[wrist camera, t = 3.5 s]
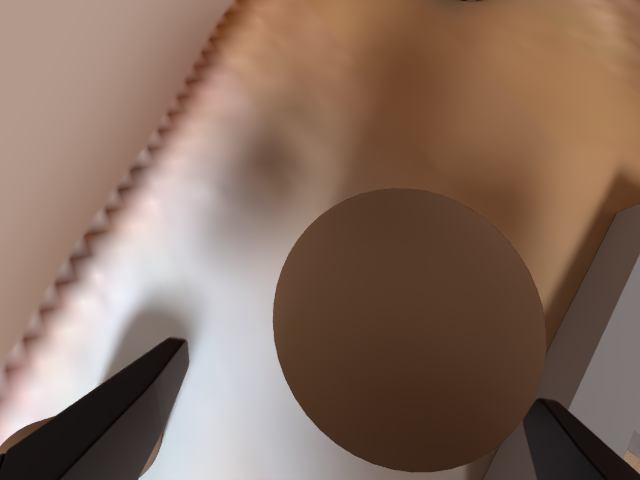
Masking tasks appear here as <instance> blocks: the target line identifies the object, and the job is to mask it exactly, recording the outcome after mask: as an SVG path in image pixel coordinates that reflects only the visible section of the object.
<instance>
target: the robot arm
mask: <svg viewBox="0 0 640 480" xmlns="http://www.w3.org/2000/svg"><path fill="white" fill-rule="evenodd" d="M188 366H189V354H188V343H187V340H186V339H183V338H177V337H169V338H167V339H166V340H164V341H163V342H161V343H160V344H159V345H157V346H156V347H154V348H153V349H151V350H150V351H148V352H147V353H146V354H144V355H143V356H141V357H140V358H138V359H137V360H136V361H134V362H133V363H131V364H130V365H128V366H127V367H125V368H124V369H123V370H121V371H120V372H118V373H117V374H115V375H114V376H112V377H111V378H110V379H108V380H107V381H105V382H104V383H102V384H101V385H99V386H98V387H97V388H95V389H94V390H92V391H91V392H89V393H88V394H87V395H85V396H84V397H82V398H81V399H79V400H78V401H76V402H75V403H74V404H72V405H71V406H69V407H68V408H66V409H65V410H63V411H62V412H61V413H59V414H58V415H56V416H55V417H53V418H52V419H51V420H49V421H48V422H46V423H45V424H43V425H42V426H40V427H39V428H38V429H36V430H35V431H33V432H32V433H30V434H29V435H27V436H26V437H25V438H23V439H22V440H20V441H19V442H17V443H16V444H14V445H13V446H12V447H10V448H9V449H8V450H7V451H6V453H1V454H0V480H138V479H139V477H140V475H141V473H142V471H143V469H144V467H145V465H146V463H147V461H148V459H149V457H150V455H151V453H152V451H153V450H154V448H155V446H156V444H157V442H158V440H159V438H160V436H161V434H162V432H163V429H164V427H165V425H166V422H167V420H168V417H169V415H170V412H171V410H172V407H173V405H174V402H175V400H176V397H177V395H178V392H179V390H180V387H181V385H182V382H183V380H184V377H185V375H186V372H187V369H188ZM523 428H524V432H525V436H526V440H527V443H528V447H529V451H530V455H531V459H532V463H533V467H534V471H535V474H536V478H537V480H640V474H639V473H638V472H637V471H636V470H634V469H633V468H632V467H631V466H630V465H629V464H628V463H627V462H625V461H624V460H623V459H622V458H621V457H620V456H619V455H618V454H617V453H615V452H614V451H613V450H612V449H611V448H610V447H609V446H608V445H606V444H605V443H604V442H603V441H602V440H601V439H600V438H599V437H598V436H596V435H595V434H594V433H593V432H592V431H591V430H590V429H589V428H587V427H586V426H585V425H584V424H583V423H582V422H581V421H580V420H578V419H577V418H576V417H575V416H574V415H573V414H572V413H571V412H570V411H568V410H567V409H566V408H565V407H564V406H563V405H562V404H561V403H559V402H558V401H556V400H553V399H548V398H541V397H540V398H537V399H536V400H535V401H534V402H533V404H532V405H531V407H530V409H529V411H528V413H527V414H526V416H525V417H524V418H523Z"/></svg>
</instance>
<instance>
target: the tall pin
mask: <svg viewBox="0 0 640 480" xmlns="http://www.w3.org/2000/svg"><path fill="white" fill-rule="evenodd" d="M273 329H274V341H275V346H276V350H277V355H278V359H279V363H280V365H281V368H282V371H283V374H284V377H285V379H286V381H287V383H288V385H289V387H290V389H291V391H292V393H293V395H294V397H295V399H296V400H297V402H298V403H299V405H300V406H301V407H302V409H303V410H304V412H305V413H306V415H307V416H308V417H309V418H310V419H311V420H312V421H313V423H314V424H315V425H316V426H317V427H318V428H319V429H320V430H321V431H322V432H323V433H324V434H325V435H327V436H328V437H329V438H330V439H331V440H332V441H334V442H335V443H336V444H337V445H339V446H341V447H342V448H344V449H345V450H347V451H348V452H350V453H351V454H353V455H355V456H357V457H359V458H361V459H364V460H366V461H368V462H370V463H372V464H376V465H379V466H382V467H386V468H389V469H393V470H400V471H407V472H436V471H442V470H448V469H453V468H456V467H459V466H462V465H465V464H468V463H471V462H472V461H474V460H476V459H478V458H480V457H482V456H484V455H486V454H488V453H489V452H490V451H492V450H493V449H494V448H496V447H497V446H498V445H500V444H501V443H502V442H504V441H505V439H506V438H507V437H508V436H509V435H510V434H511V433H512V432H513V431H514V430H515V429H516V428H517V427H518V425H519V424H520V423H521V421H522V420H523V418H524V417H525V416H526V414H527V413H528V411H529V409H530V407H531V405H532V403H533V401H534V399H535V397H536V394H537V391H538V389H539V386H540V383H541V380H542V376H543V370H544V365H545V360H546V344H547V339H546V324H545V318H544V313H543V308H542V303H541V300H540V297H539V294H538V291H537V288H536V285H535V283H534V281H533V279H532V277H531V274H530V272H529V270H528V268H527V267H526V265H525V263H524V262H523V260H522V258H521V257H520V255H519V254H518V253H517V251H516V250H515V249H514V247H513V246H512V245H511V243H510V242H509V241H508V240H507V239H506V238H505V237H504V236H503V234H502V233H501V232H500V231H499V230H498V229H497V228H496V227H494V226H493V225H492V224H491V223H490V222H488V221H487V220H486V219H485V218H484V217H482V216H481V215H479V214H478V213H476V212H475V211H473V210H472V209H470V208H468V207H466V206H464V205H463V204H461V203H459V202H457V201H455V200H452V199H449V198H447V197H444V196H442V195H438V194H435V193H431V192H427V191H422V190H414V189H394V188H393V189H383V190H376V191H371V192H367V193H363V194H360V195H357V196H354V197H352V198H349V199H347V200H345V201H343V202H341V203H339V204H337V205H335V206H333V207H332V208H331V209H329V210H328V211H326V212H325V213H323V214H322V215H321V216H319V217H318V218H317V219H316V220H315V221H314V222H313V223H312V224H311V225H310V226H309V227H308V228H307V229H306V230H305V231H304V233H303V234H302V235H301V236H300V237H299V239H298V240H297V242H296V243H295V245H294V246H293V248H292V250H291V251H290V253H289V255H288V257H287V259H286V261H285V263H284V266H283V268H282V270H281V274H280V277H279V280H278V283H277V287H276V293H275V299H274V308H273Z"/></svg>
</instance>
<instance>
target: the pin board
mask: <svg viewBox="0 0 640 480" xmlns="http://www.w3.org/2000/svg"><path fill="white" fill-rule="evenodd" d="M540 397H541V398H548V399H553V400H556V401H558V402H559V403H561V404H562V405H563V406H564V407H565V408H566V409H567V410H568V411H570V412H571V413H572V414H573V415H574V416H575V417H576V418H577V419H578V420H580V421H581V422H582V423H583V424H584V425H585V426H586V427H587V428H589V429H590V430H591V431H592V432H593V433H594V434H595V435H596V436H598V437H599V438H600V439H601V440H602V441H603V442H604V443H605V444H606V445H608V446H609V447H610V448H611V449H612V450H613V451H614V452H615V453H617V454H618V455H619V456H620V457H621V458H622V459H623V458H624V455H625V453H626V450H629V451H630V452H632V453H633V454H634V455H636V456H637V457H639V458H640V204H637V205H635V206H632V207H630V208H627V209H625V210H622V211H620V212H617V214H616V216H615V218H614V219H613V221H612V223H611V225H610V227H609V229H608V231H607V233H606V235H605V237H604V239H603V241H602V243H601V245H600V247H599V249H598V251H597V253H596V255H595V257H594V259H593V261H592V263H591V265H590V267H589V269H588V271H587V273H586V275H585V277H584V279H583V281H582V283H581V285H580V287H579V289H578V291H577V293H576V295H575V297H574V299H573V301H572V303H571V305H570V307H569V309H568V311H567V313H566V315H565V317H564V319H563V321H562V323H561V325H560V327H559V329H558V331H557V333H556V335H555V337H554V339H553V341H552V343H551V345H550V347H549V349H548V351H547V353H546V360H545V365H544V370H543V376H542V380H541V383H540V386H539V389H538V391H537V394H536V397H535V399H534V401H535V400H536V399H537V398H540ZM534 401H533V402H534ZM532 404H533V403H532ZM483 480H537V478H536V474H535V471H534V467H533V463H532V459H531V455H530V451H529V447H528V443H527V440H526V436H525V432H524V428H523V420H522V421H521V423H520V424H519V425H518V427H517V428H516V429H515V430H514V431H513V432H512V433H511V434H510V435H509V436H508V437H507V438H506V439H505V441H504V442H502V443H501V444H500V446H499V448H498V450H497V452H496V454H495V456H494V458H493V460H492V462H491V464H490V466H489V468H488V470H487V472H486V474H485V476H484V478H483Z"/></svg>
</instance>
